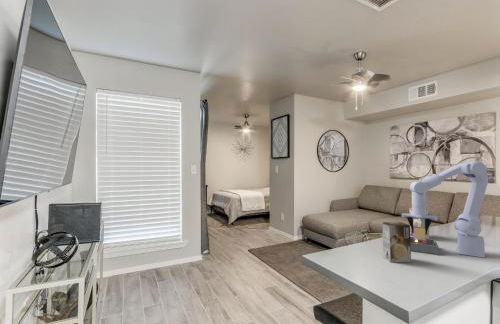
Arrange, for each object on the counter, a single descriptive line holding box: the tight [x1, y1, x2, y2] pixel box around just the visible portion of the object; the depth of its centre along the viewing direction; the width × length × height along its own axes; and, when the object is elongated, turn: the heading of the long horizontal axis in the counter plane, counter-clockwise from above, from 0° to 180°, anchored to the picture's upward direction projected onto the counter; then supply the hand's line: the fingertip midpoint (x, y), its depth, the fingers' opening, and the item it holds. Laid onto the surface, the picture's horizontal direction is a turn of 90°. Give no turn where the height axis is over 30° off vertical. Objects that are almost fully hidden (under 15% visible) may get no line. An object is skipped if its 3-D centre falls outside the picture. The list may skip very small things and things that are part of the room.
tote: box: [410, 236, 440, 256], centre depth 125 cm, size 14×14×4 cm
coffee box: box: [381, 221, 412, 263], centre depth 110 cm, size 9×6×16 cm
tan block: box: [413, 226, 425, 238], centre depth 123 cm, size 5×5×4 cm
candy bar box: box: [408, 207, 430, 239], centre depth 147 cm, size 11×5×16 cm, turn 179°
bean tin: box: [414, 237, 427, 245], centre depth 125 cm, size 5×5×5 cm
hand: (419, 233), depth 123 cm, fingers closed on tan block, 5 cm apart
